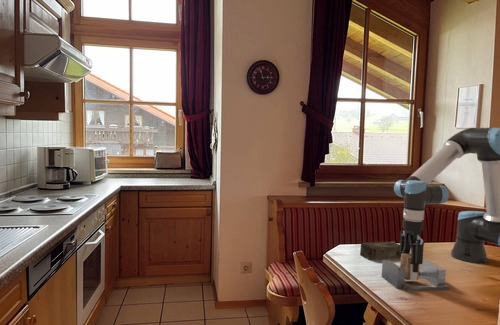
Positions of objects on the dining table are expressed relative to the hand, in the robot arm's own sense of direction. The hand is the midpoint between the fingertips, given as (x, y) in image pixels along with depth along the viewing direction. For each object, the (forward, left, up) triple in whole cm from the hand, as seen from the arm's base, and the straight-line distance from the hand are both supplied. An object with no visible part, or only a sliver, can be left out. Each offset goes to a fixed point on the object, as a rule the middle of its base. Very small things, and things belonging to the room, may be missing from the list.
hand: (409, 276), depth 151 cm
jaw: (-10, 0, -2) cm, 10 cm away
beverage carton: (-4, -31, -3) cm, 32 cm away
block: (0, 0, 0) cm, 0 cm away
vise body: (-2, 0, -2) cm, 3 cm away
